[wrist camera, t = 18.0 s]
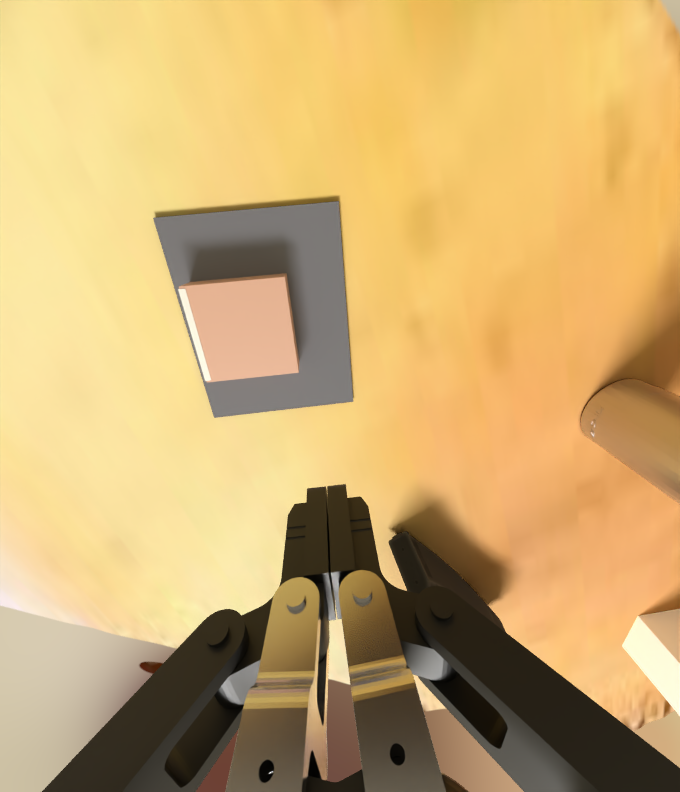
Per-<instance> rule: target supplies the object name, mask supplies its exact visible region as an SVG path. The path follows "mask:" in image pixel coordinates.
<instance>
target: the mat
mask: <svg viewBox="0 0 680 792" xmlns="http://www.w3.org/2000/svg"><path fill="white" fill-rule="evenodd" d="M153 219H154V222H155V226H156V229H157V232H158V235H159V239H160V242H161V245H162V249H163V252H164V255H165V258H166V262H167V265H168V268H169V271H170V275H171V278H172V281H173V284H174V288H175V291H176V294H177V298H178V301H179V304H180V307H181V311H182V314H183V317H184V320H185V324H186V327H187V330H188V333H189V337H190V340H191V343H192V346H193V350H194V353H195V356H196V360H197V363H198V366H199V369H200V373H201V376H202V379H203V382H204V386H205V389H206V392H207V395H208V399H209V402H210V405H211V409H212V412H213V415H214V418H216V417H224V416H233V415H241V414H250V413H259V412H267V411H276V410H285V409H293V408H302V407H310V406H319V405H328V404H336V403H345V402H353V392H352V378H351V364H350V350H349V337H348V323H347V309H346V296H345V282H344V268H343V254H342V241H341V227H340V213H339V201H336V202H325V203H314V204H303V205H292V206H280V207H269V208H258V209H247V210H236V211H225V212H213V213H202V214H191V215H180V216H169V217H158V218H153ZM283 273H287V280H288V287H289V294H290V301H291V308H292V315H293V322H294V329H295V336H296V343H297V350H298V357H299V373H291V374H282V375H273V376H263V377H254V378H245V379H235V380H226V381H217V382H206V381H205V379H204V376H203V372H202V369H201V366H200V362H199V359H198V355H197V352H196V349H195V345H194V342H193V338H192V335H191V332H190V328H189V325H188V321H187V318H186V315H185V311H184V308H183V305H182V301H181V298H180V294H179V291H178V289H179V286H181V285H184V284H186V283H189V282H195V281H206V280H217V279H228V278H239V277H250V276H261V275H272V274H283Z"/></svg>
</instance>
